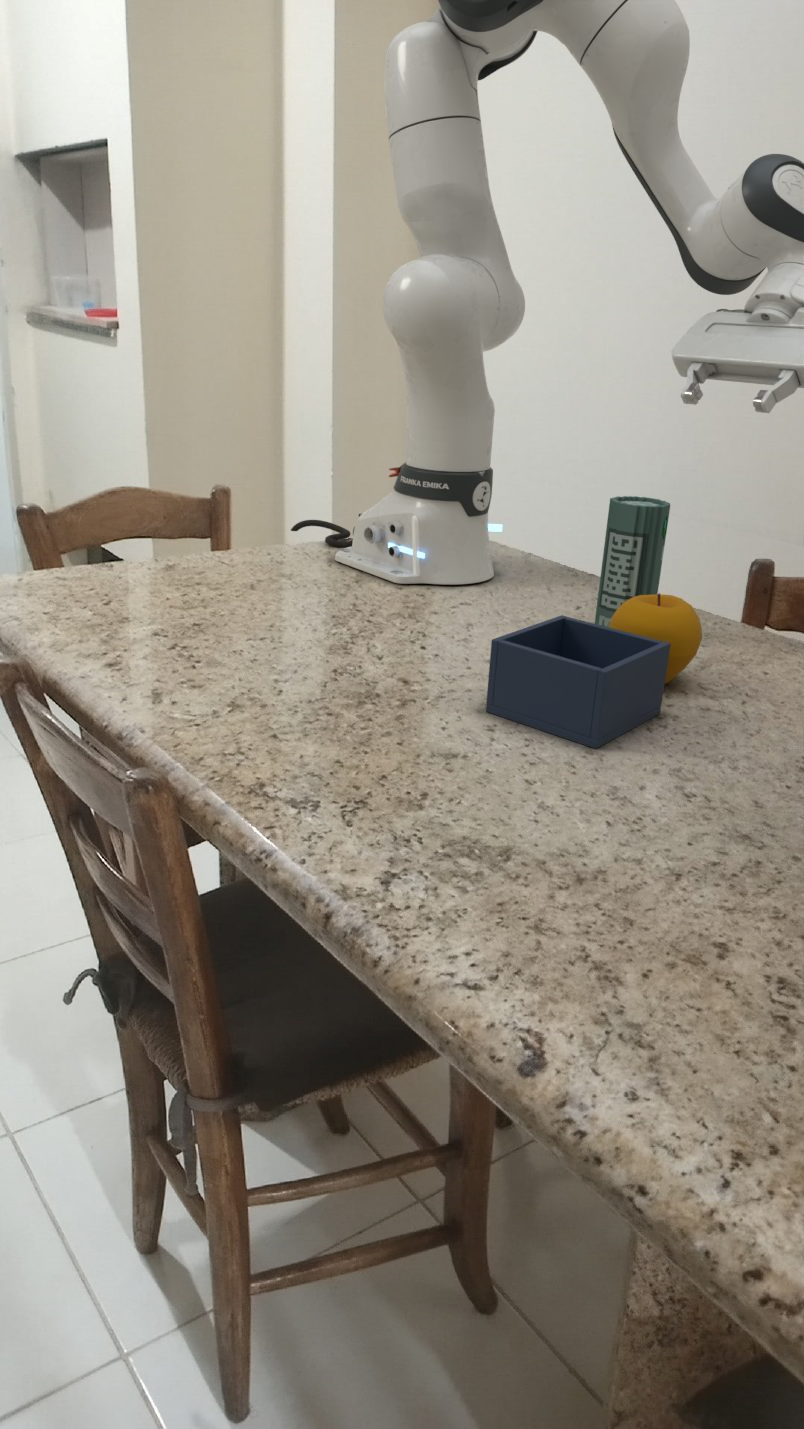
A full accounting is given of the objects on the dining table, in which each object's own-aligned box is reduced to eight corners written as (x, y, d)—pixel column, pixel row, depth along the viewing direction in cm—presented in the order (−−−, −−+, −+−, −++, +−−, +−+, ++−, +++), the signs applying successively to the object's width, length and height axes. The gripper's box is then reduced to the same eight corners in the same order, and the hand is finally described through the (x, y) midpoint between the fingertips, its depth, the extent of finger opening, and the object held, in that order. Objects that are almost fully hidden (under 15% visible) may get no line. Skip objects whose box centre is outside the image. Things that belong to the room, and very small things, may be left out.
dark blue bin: (485, 711, 92) (491, 639, 89) (554, 681, 100) (561, 615, 97) (596, 749, 85) (606, 672, 83) (660, 714, 93) (671, 643, 91)
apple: (636, 659, 107) (647, 576, 104) (712, 683, 102) (727, 596, 98) (585, 677, 102) (595, 589, 98) (663, 703, 96) (677, 611, 92)
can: (658, 634, 116) (677, 502, 111) (636, 646, 112) (655, 509, 106) (609, 623, 120) (625, 494, 114) (585, 634, 115) (602, 500, 109)
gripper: (700, 289, 121) (638, 376, 119) (865, 292, 107) (797, 391, 105) (716, 329, 126) (656, 414, 123) (877, 338, 111) (812, 434, 109)
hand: (722, 404), depth 114 cm, fingers open, 8 cm apart
